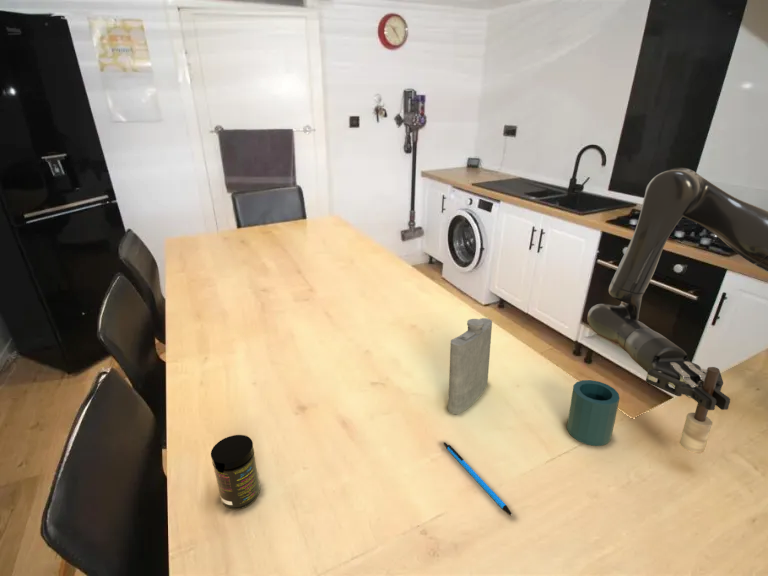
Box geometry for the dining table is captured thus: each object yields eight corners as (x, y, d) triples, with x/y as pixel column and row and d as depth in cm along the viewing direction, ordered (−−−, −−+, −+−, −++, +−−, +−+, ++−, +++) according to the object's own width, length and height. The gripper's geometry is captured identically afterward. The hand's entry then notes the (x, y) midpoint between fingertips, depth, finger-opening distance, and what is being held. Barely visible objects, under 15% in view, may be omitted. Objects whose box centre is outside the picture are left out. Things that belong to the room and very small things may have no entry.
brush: (694, 438, 75) (716, 363, 70) (709, 453, 72) (733, 375, 67) (675, 439, 76) (695, 364, 70) (688, 453, 72) (710, 375, 67)
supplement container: (268, 485, 74) (260, 438, 71) (245, 516, 68) (236, 467, 65) (237, 476, 76) (228, 431, 73) (212, 506, 70) (201, 458, 67)
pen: (446, 444, 83) (446, 439, 83) (513, 516, 67) (514, 511, 67) (442, 445, 83) (442, 441, 82) (509, 518, 67) (510, 513, 66)
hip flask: (477, 379, 104) (482, 307, 97) (492, 384, 102) (498, 311, 95) (445, 410, 93) (448, 331, 86) (461, 417, 90) (465, 337, 83)
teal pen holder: (598, 418, 89) (605, 379, 85) (618, 445, 81) (628, 403, 78) (560, 419, 89) (566, 380, 85) (577, 446, 81) (584, 404, 78)
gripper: (623, 337, 82) (683, 387, 66) (692, 335, 82) (768, 384, 66) (617, 370, 85) (673, 425, 68) (684, 368, 85) (755, 423, 68)
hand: (719, 405), depth 67 cm, fingers closed on brush
